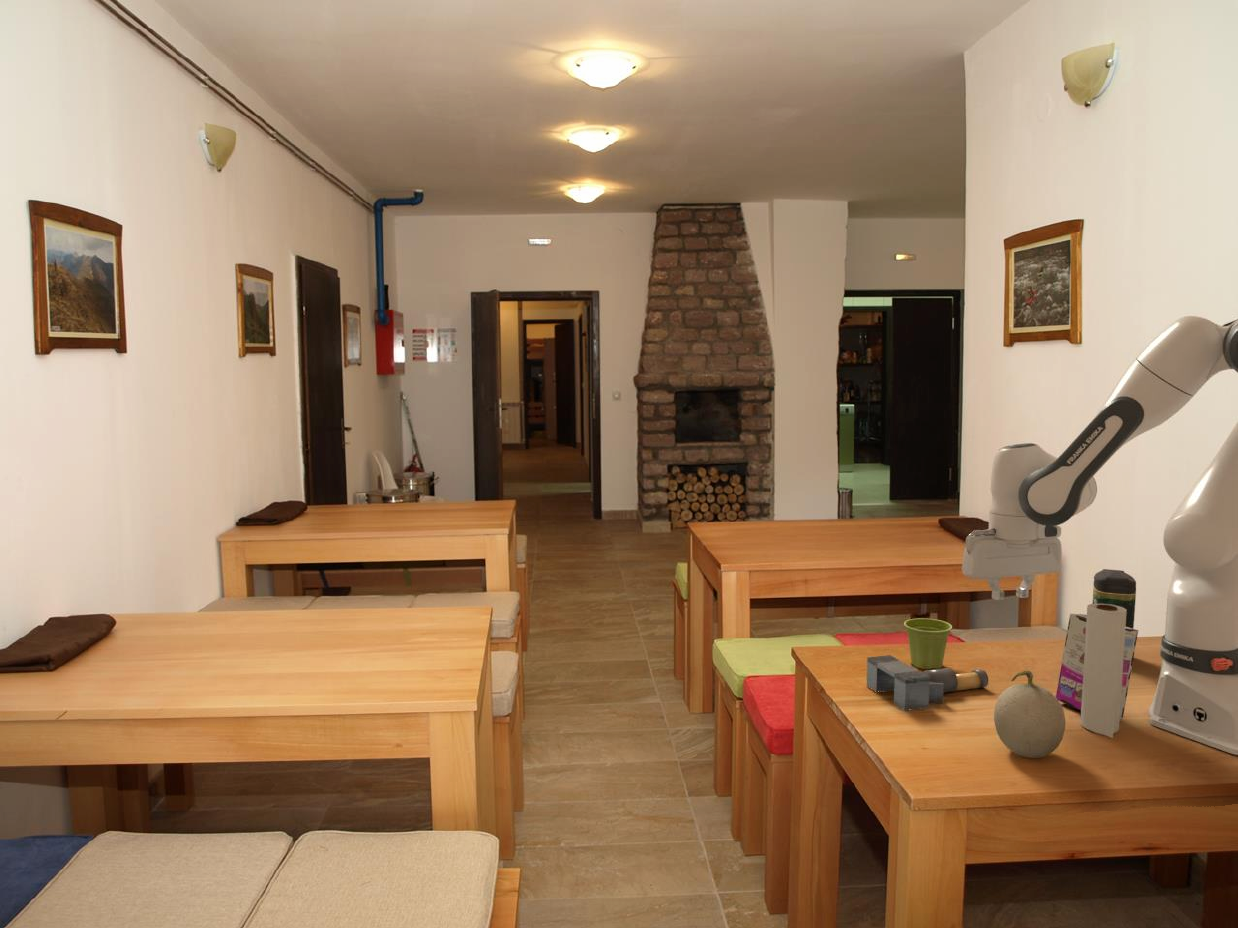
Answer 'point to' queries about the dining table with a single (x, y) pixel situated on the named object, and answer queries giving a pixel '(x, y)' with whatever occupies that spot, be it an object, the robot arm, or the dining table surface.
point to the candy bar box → (1074, 663)
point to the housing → (902, 682)
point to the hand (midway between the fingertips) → (1010, 598)
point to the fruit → (1029, 719)
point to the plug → (958, 679)
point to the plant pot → (927, 641)
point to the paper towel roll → (1103, 668)
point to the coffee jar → (1116, 591)
